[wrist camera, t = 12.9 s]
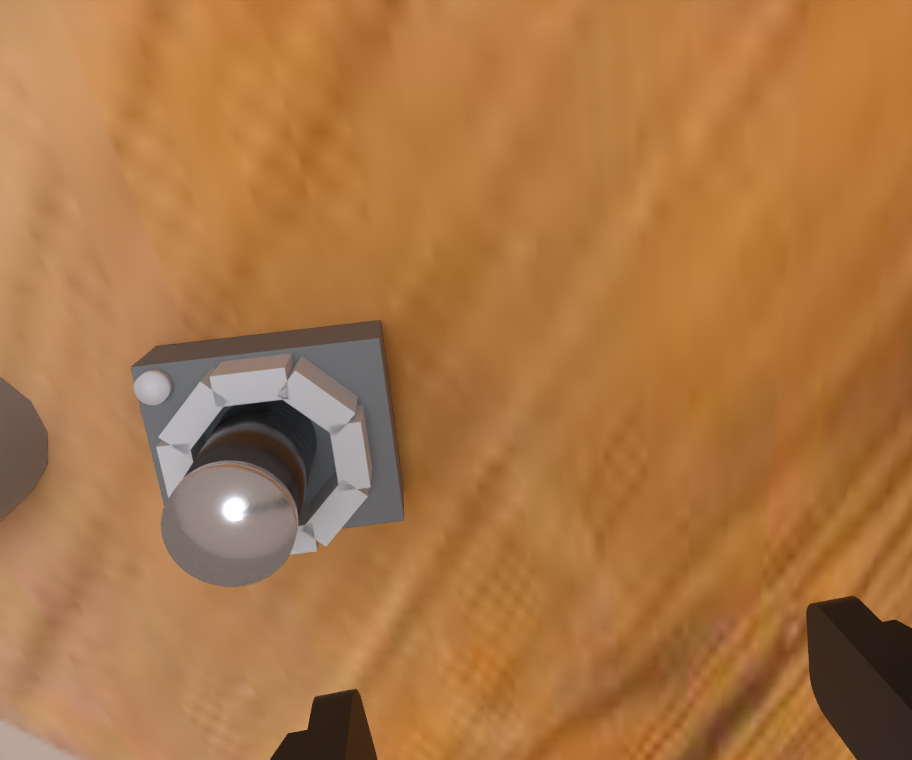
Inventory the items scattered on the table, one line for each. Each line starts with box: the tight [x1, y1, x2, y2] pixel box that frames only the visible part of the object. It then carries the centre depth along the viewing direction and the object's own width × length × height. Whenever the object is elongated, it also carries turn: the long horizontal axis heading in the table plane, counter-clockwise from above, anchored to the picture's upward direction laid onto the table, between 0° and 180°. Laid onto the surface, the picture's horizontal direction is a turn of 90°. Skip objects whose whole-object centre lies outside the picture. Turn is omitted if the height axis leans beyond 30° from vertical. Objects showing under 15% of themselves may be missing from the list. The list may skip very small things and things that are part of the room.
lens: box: [161, 400, 317, 587], centre depth 33 cm, size 5×5×9 cm
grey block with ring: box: [131, 320, 404, 555], centre depth 38 cm, size 12×10×6 cm
